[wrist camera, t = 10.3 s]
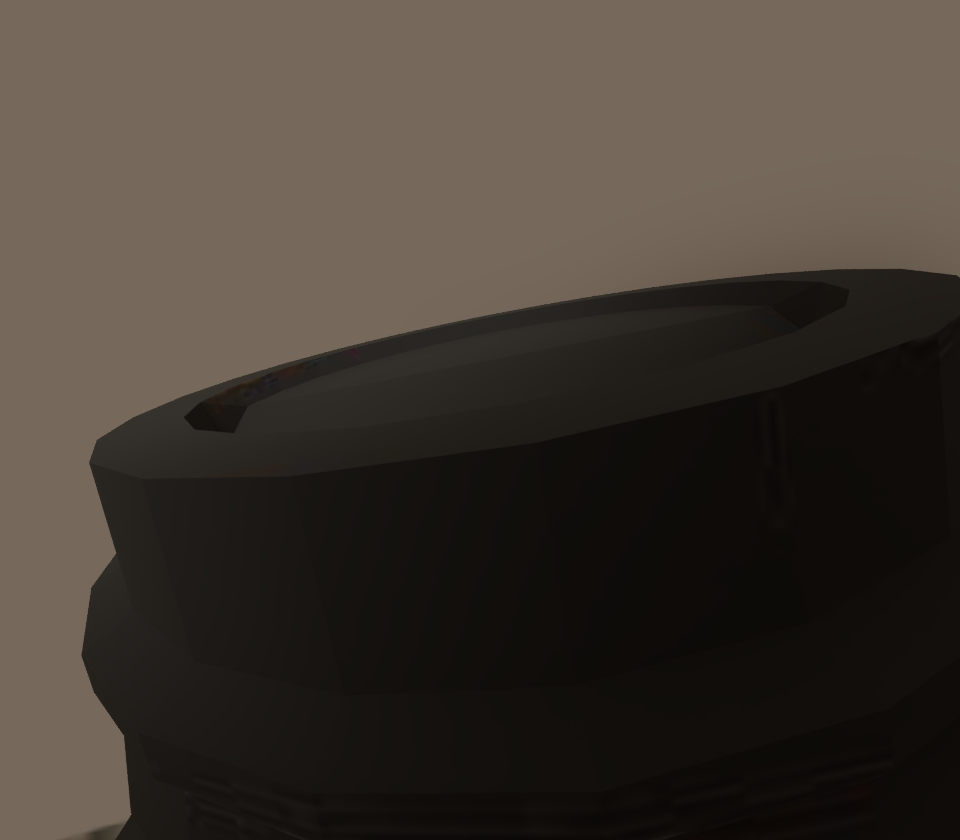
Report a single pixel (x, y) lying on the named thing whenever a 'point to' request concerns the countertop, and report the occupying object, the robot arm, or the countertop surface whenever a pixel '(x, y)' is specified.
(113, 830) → the countertop surface
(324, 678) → the coffee cup
